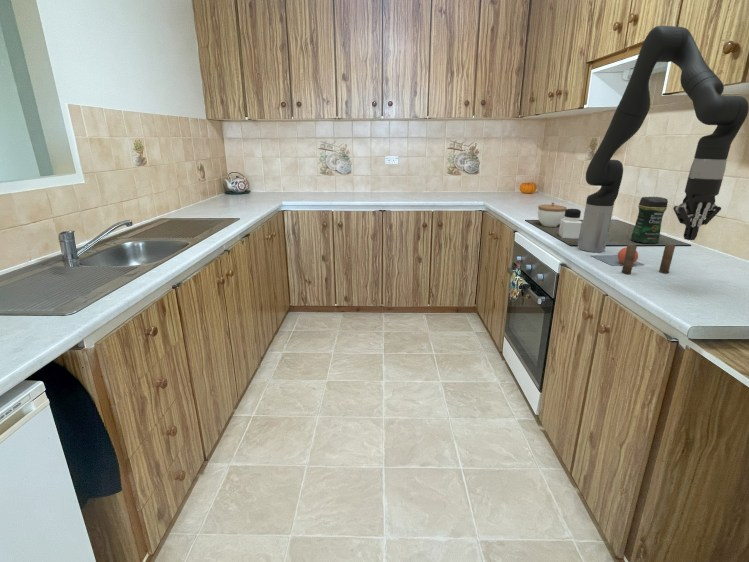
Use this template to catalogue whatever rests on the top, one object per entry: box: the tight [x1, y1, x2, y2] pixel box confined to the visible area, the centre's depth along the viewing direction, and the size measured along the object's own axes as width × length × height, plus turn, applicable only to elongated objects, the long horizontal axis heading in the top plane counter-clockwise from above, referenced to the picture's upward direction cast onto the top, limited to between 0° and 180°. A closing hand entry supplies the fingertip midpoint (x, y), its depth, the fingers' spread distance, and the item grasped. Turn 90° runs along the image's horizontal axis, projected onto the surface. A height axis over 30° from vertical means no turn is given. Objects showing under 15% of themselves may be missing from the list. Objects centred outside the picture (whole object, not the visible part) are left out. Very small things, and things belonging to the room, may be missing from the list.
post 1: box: [621, 244, 638, 275], centre depth 134 cm, size 3×3×9 cm
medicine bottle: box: [558, 208, 583, 240], centre depth 182 cm, size 7×7×12 cm
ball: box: [617, 246, 639, 263], centre depth 144 cm, size 6×6×6 cm
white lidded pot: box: [537, 201, 568, 228], centre depth 205 cm, size 13×13×11 cm
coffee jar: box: [630, 196, 669, 244], centre depth 174 cm, size 10×8×19 cm
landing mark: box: [590, 254, 645, 267], centre depth 150 cm, size 12×12×1 cm
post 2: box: [658, 243, 676, 274], centre depth 136 cm, size 3×3×9 cm
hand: (689, 239), depth 120 cm, fingers closed
